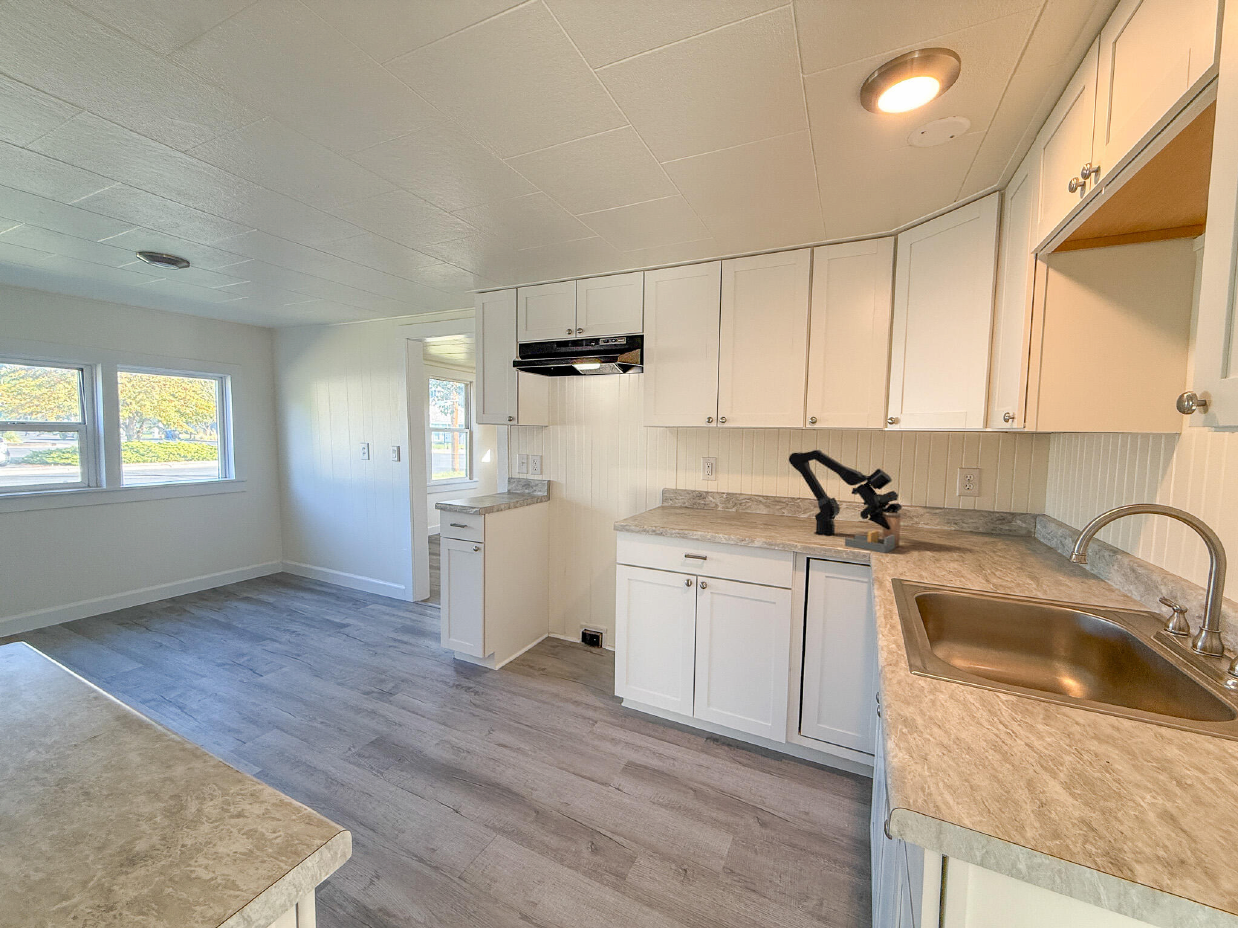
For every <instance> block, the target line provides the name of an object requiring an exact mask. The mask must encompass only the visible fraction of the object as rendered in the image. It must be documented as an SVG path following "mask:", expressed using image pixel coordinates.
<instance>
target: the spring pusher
mask: <svg viewBox="0 0 1238 928" xmlns="http://www.w3.org/2000/svg"><path fill="white" fill-rule="evenodd" d="M879 532H880V530H877V529H876V530H875V529H874V530H872V531H869V532H867V537H868V541H867V542H873V543H878V538H879V534H880V533H879Z"/></svg>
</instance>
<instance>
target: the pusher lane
mask: <svg viewBox="0 0 1238 928" xmlns="http://www.w3.org/2000/svg"><path fill="white" fill-rule="evenodd" d="M867 541H868V536H866V535H860V534H859V535H858V534H854V538H850V537H849V538H848V537H845V538H844V546H845V547H848V548H855V549H860V550H865V551H872V552H876V553H882V554H887V553H889V552H891V551H894V550H895V549H896V548H895V535H890V536H888V537H885V538H884V539H882V538H879V537H878V543H873V542H867Z"/></svg>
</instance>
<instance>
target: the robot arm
mask: <svg viewBox="0 0 1238 928" xmlns="http://www.w3.org/2000/svg"><path fill="white" fill-rule="evenodd" d="M814 460H815V461H816V462H818V463H820V465H823V466H824V467H826V468H828V469H829V470H831V471H833V473H835V474H837V475H838V476H839V477H840V478H841V480H842V481H843V482H845V483H846V484H847V485H848V486H852V489H851V494H852V495H854V496H855V495H859V497H860V499H862V500H863V502H862V504H863V505H864V506H866V507H865V508H864V509H862V510H861V511H860V513H859V515H860V517H861V519H862V520H867V519H868V521H871V522H873V523H875V524H877V525H878V526H880V527H882V528H883V527H884V528H886V529H887V530H889V529H891V528H890V526H889V524H888V523H887V521H886V520H885V518H884V517H883V512H897V513H899V511H900V510H901V509H902V508H903V506H902V505H901V504H900V503H897V502H896V501H898V498H899V494H898V493H897V492H896V491H894V490H891V491H888V492H886V493H882V494H881V493H879V494H878V492H876V490H877V489H878V491H879V490H882V489H883V488H884V487H886V486H887V485H888V484H890V483H892V481H893V479H892V478H891V476H890V475H889V474H888V473H886V472H885V471H883V470H882V469H881V468H876V470H875V471H874V472H872V473H871V474H869V475H866V474H863V473H862V472H861V471H859V470H856V469H854V468H850V467H848V466H845V465H843V464H842V463H840V462H838V461H837V460H835V459H833V458H832V457H830V456H828V455H827V454H825V453H824V452H822V450H820V449H816V450H815V449H814V450H812V451H806V452H801V451H799V452H792V453H791V454H790V455H789V458H788V462H789V464H790V465H791V466H792V467H793V468H794V469H795V470H796V471H798V472H799V473H800V474H801V476H802V477H803V479H804V481H805V483H806V485H807V486H808V487H809V489H810V491H811V492H812V494H813V495H814V497H815V498H816V501H817V505H818V508H819V512H818V513H816V514H815V515H814V518H815V521H816V526H815V527H816V528H815V532H814V534H815V535H820V536H821V535H822V536H827V537H830V536H832V535H836V533H835V527H836V524H835V519H836V517H837V516H838V515H839V514H840V511H841V508H840V506H841V505H840V504H839V503H838V502H837V499H836V498H835V497H830V496H828V495H827V492H826V491H825V489H824V487H822V485H821V483H820V482H819V480H818V479H817V476H816V475H815V474H814V472H813V470H812V469H811V465H810V461H814ZM857 485H858V486H857ZM853 486H857V487H853ZM894 501H895V502H894ZM891 502H893V503H891ZM900 528H901V525H900ZM814 534H813V535H814Z"/></svg>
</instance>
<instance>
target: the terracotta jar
mask: <svg viewBox="0 0 1238 928" xmlns="http://www.w3.org/2000/svg"><path fill="white" fill-rule="evenodd" d="M883 517H884V518H885V520H886V521H887V523H888V524H889V526H890V528H891V529H889V530H887V529H886V528H884V527H882V531H881V533H882V534H881V539H884V538H885V537H888V536H890V535H895V549H897V548H900V536H901V527H900V526H901V521H902V520H901V519H902V513H901V512H883Z"/></svg>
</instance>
